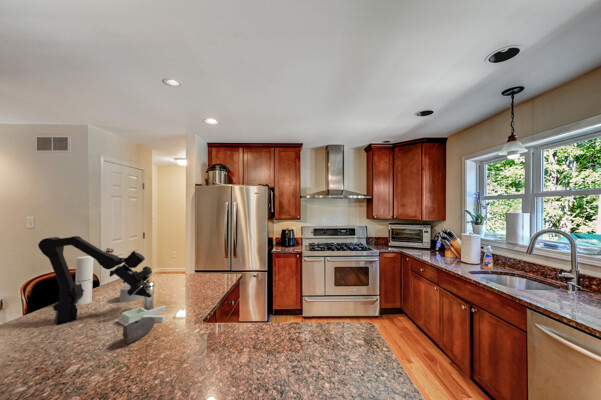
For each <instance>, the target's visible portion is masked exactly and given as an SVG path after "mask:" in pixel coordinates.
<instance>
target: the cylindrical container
mask: <svg viewBox="0 0 601 400" xmlns="http://www.w3.org/2000/svg"><path fill="white" fill-rule="evenodd" d="M75 260H76V262H75V264H76V265H75V281H74V283H76V284H77V285H79V284H81V285H82V289H83V290H84V292H83V296H82V298H81V299H80V300H78V302H77V303H76V304H75V305H76V306H83V305H86V304H89V303H90V304H91V303H92V300H93V299H92V298H93V297H92V296H93V279H94V258H93V257H91V256H89V255H87V256H86V255H85V256H77V257H76V259H75Z"/></svg>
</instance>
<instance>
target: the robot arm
mask: <svg viewBox="0 0 601 400" xmlns="http://www.w3.org/2000/svg"><path fill="white" fill-rule="evenodd" d="M66 246H72V247H74V248H76V249H77V250H79V251H80V252H82V253H83V254H86V255H87V256H91V257H93V258H94V259H95V261H97V263H98V265H100V266H101V267H102V268H103V269H106V270H109V277H110V278H111V277H113V276H117V277H118V278H119V279H120V280H122V283H123V284H128V285H129V286H131V287H130V289H129V290H128V291H127V294H128V295H129V296H131V295H132V294H133V293H134V292H135V293H134V294H133V295H138V296H144V297H149V298H150V297H151V296H152V295H151V294H150V293H149V292H148V291H147V290H146V289H145V283H146V282H150V275H151V274H152V273H153V271H152V267H150V266H143V267H142V270H140V271H138V270H133V269H136V268H137V267H138V266H139V265H141V264H142V263H143V262H144V261H145V256H144V255H143V254H141V253H138V251H135V250H134V251H132V252H130V254H129V255H128V256H127V257H120V256H118V255H116V254H114V253H110V252H108V251H107V252H106V251H104V250H102V249H100V248H98V247H97V246H95V245H94V244H91V243H90V242H88V241H87V240H84V239H83V238H82V237H80V235H75V236H69V237H63V238H61V237H59V236H54V237H53V236H52V237H48V238H47V237H45V238H43V239H41V240H40V241H39V243H38V248H39V250H40V252H42V253H41V254H43V255H44V256H45V257H47V258H48V259H49V262H50V264H51V267H52V270H53V272H54V274H55V277H56V280H57V282H58V284H59V287H60V290H59V301H58V302H57V303H56V304H55V305H53V306H52V309H53V311H54V312H55V320H53V322H54V323H55V324H56V325H58V326H59V325H63V324H66V323H70V322H74V321H77V320H78V307H77V305H75V304H76V303H77V302H78V300H80V299H81V298H82V296H83V292H84V290H83V289H82V285H81V284H79V285H77V284H76V283H75V281H74V279H73V276H72V274H71V271H70V269H69V266H68V264H67V261H66V258H65V256H64V250H65V247H66Z"/></svg>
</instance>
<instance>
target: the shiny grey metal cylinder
mask: <svg viewBox="0 0 601 400" xmlns="http://www.w3.org/2000/svg"><path fill="white" fill-rule="evenodd" d="M145 289H146V290H147V291H148V292H149V293H150V294H151V295H152V296H151V297H150V298H149V297H144V298H143V299H144V301H143V303H144V304H143V308H144V309H146V310H151V309H154V297H155V295H154V294H155V281H152V280H151V281H150V280H149V282H146V283H145Z"/></svg>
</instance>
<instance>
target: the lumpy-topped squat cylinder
mask: <svg viewBox="0 0 601 400" xmlns="http://www.w3.org/2000/svg"><path fill="white" fill-rule="evenodd" d="M130 287H131V286H129V285H128V284H127V283H125V285H123V286H122V287H120V290H119V291H120V292H119V302H120V303H130V301H131V302H134V301H135V302H136V301H139V300H141V299H144V296H138V295H133V294H134V293H135V292H134V293H133V294H132V295H131V296H129V295H128V294H127V291H128V290H129V289H130Z"/></svg>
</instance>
